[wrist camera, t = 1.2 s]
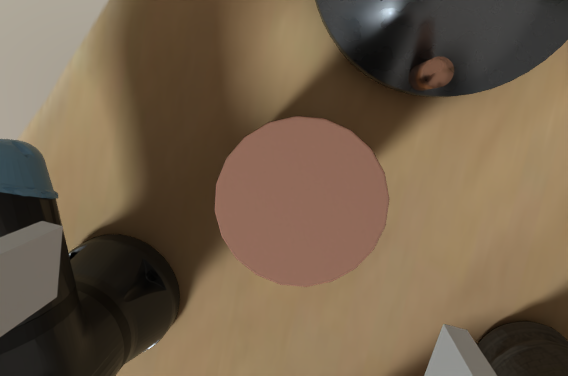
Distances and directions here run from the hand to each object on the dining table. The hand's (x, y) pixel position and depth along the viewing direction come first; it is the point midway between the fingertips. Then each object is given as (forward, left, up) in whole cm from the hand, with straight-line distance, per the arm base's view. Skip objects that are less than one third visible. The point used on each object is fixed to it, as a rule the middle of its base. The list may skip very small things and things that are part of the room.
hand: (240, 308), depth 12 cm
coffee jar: (0, 0, -28) cm, 28 cm away
